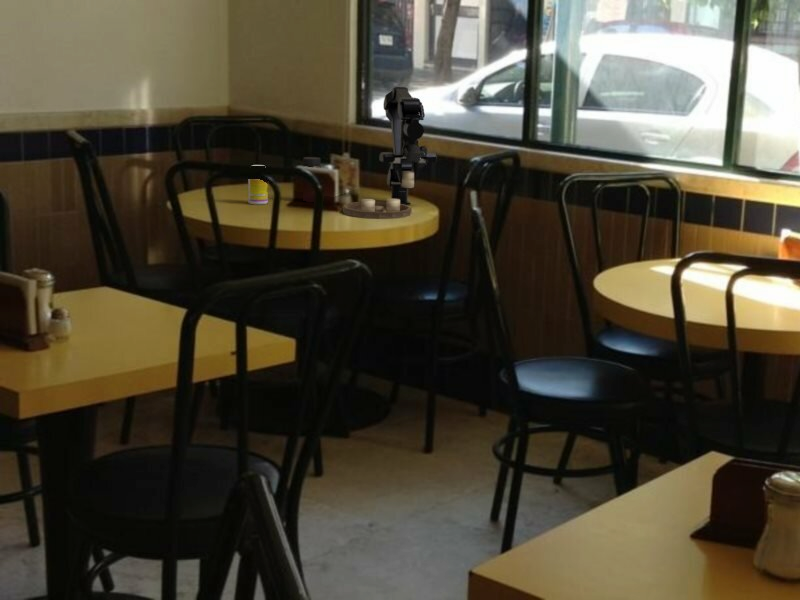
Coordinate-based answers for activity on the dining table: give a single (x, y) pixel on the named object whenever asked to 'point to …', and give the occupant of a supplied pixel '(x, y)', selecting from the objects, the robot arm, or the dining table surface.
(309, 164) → the deodorant
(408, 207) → the tray
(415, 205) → the dining table surface
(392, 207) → the bead
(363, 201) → the bead
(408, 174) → the loose bead
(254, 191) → the supplement bottle
